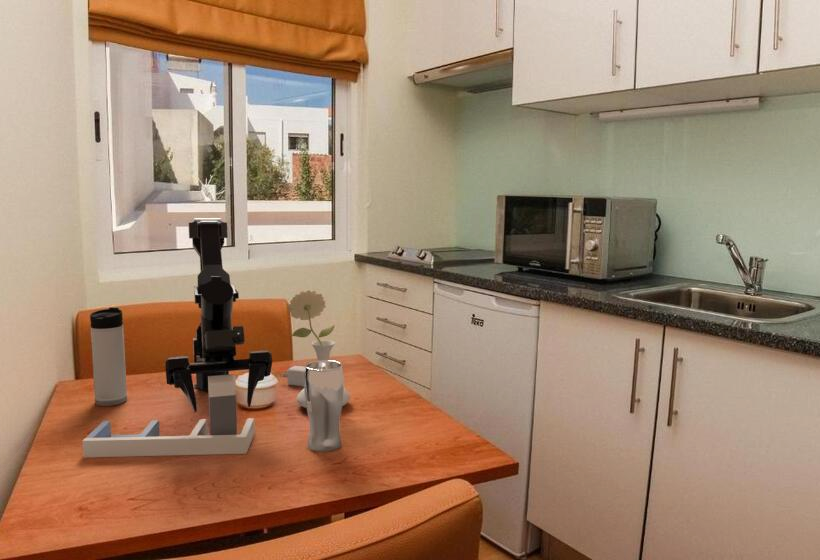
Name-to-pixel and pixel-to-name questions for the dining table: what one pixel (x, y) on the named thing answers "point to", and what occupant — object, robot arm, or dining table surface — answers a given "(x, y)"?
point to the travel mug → (108, 357)
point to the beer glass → (324, 403)
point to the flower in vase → (305, 309)
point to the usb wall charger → (295, 376)
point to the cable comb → (165, 442)
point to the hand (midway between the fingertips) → (222, 408)
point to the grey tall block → (222, 405)
